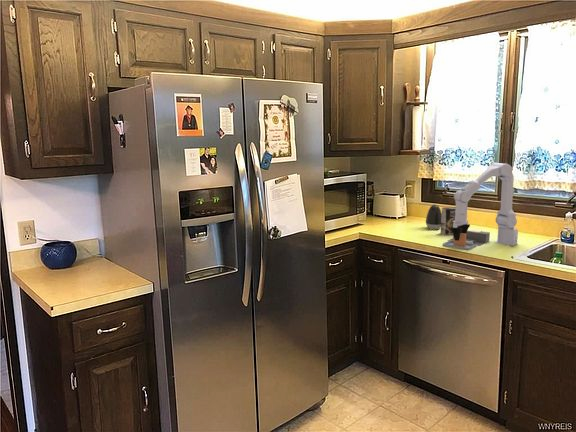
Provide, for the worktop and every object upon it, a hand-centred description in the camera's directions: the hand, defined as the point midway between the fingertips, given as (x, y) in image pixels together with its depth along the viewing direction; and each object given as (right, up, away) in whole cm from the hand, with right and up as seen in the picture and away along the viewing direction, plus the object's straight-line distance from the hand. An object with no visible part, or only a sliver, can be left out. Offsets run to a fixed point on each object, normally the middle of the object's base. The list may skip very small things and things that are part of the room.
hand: (459, 238), depth 243 cm
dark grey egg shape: (+1, +4, +46) cm, 46 cm away
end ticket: (0, -4, +1) cm, 4 cm away
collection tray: (0, -4, +1) cm, 4 cm away
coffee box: (+5, +1, +29) cm, 29 cm away
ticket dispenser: (+9, -2, +12) cm, 15 cm away
